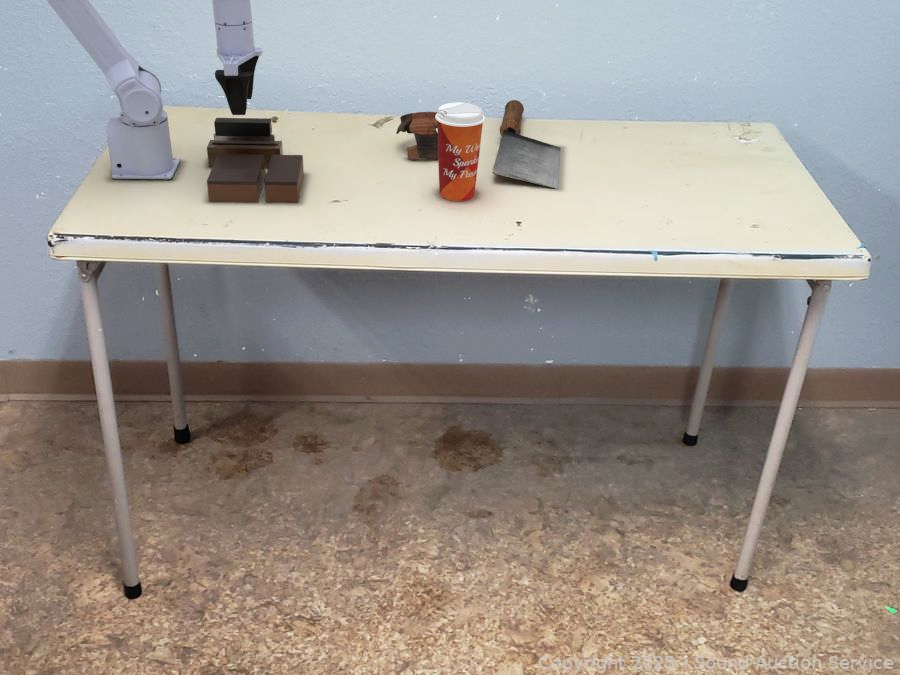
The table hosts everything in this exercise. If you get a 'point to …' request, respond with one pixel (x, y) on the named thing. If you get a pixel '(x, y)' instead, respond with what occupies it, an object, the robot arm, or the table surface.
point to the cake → (236, 178)
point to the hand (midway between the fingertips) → (242, 106)
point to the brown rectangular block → (284, 178)
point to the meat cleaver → (525, 152)
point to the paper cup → (458, 149)
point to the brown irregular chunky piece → (421, 134)
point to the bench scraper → (243, 131)
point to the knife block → (243, 151)
